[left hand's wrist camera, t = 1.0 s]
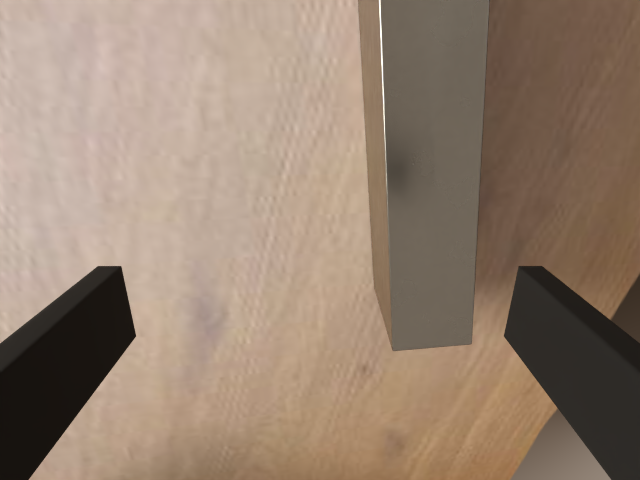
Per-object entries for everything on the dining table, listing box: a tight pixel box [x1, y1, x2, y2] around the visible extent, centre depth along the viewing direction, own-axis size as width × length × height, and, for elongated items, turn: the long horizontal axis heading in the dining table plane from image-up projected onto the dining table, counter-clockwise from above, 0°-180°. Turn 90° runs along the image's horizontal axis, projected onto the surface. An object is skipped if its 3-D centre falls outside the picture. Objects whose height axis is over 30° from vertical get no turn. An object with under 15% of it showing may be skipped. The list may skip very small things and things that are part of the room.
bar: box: [358, 0, 490, 351], centre depth 25 cm, size 25×5×9 cm, turn 6°
